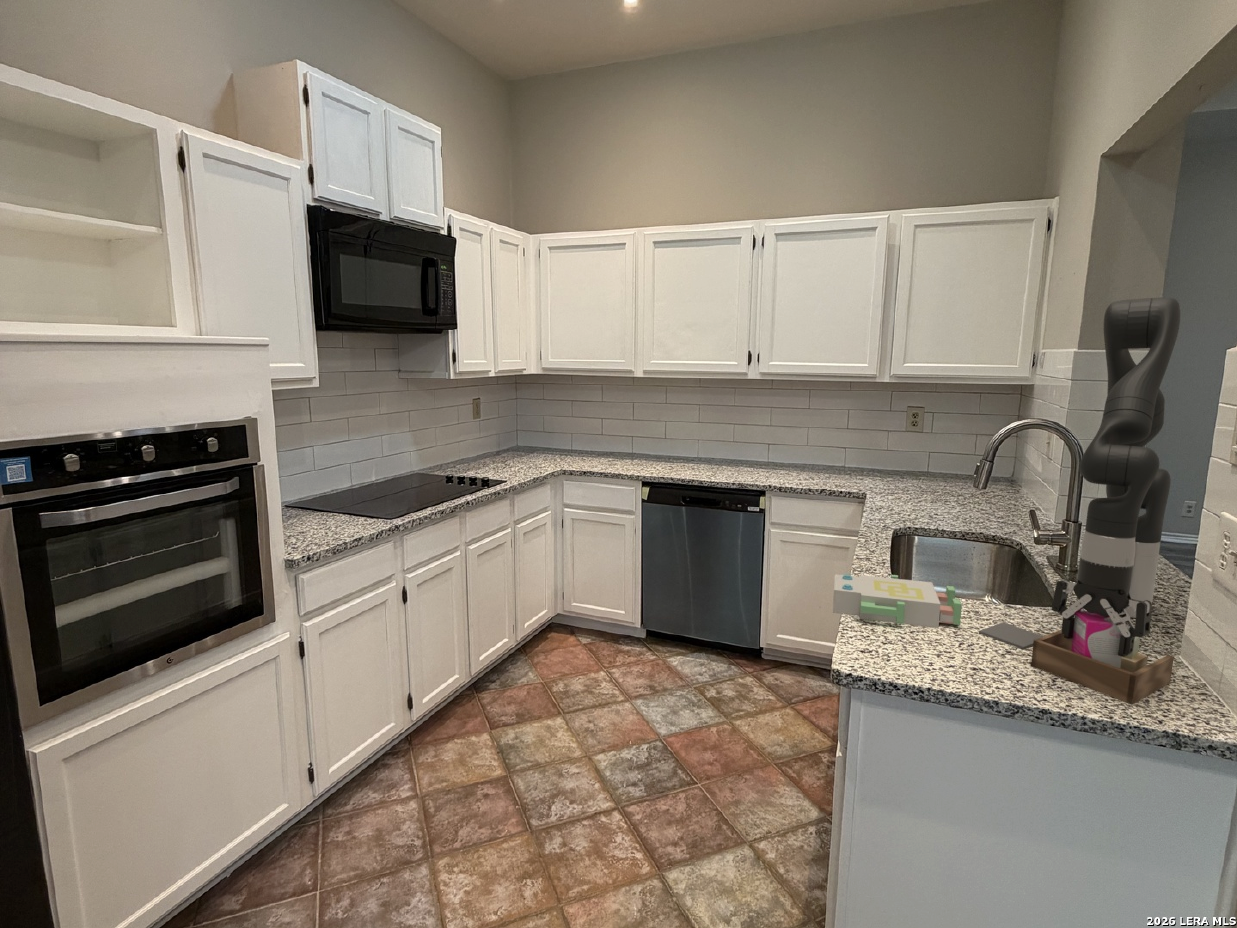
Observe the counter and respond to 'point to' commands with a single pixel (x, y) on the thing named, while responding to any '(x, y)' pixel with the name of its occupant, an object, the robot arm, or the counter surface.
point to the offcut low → (1134, 663)
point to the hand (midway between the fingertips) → (1094, 646)
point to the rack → (1099, 670)
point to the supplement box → (1096, 638)
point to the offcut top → (1134, 648)
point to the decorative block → (895, 600)
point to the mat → (1011, 635)
